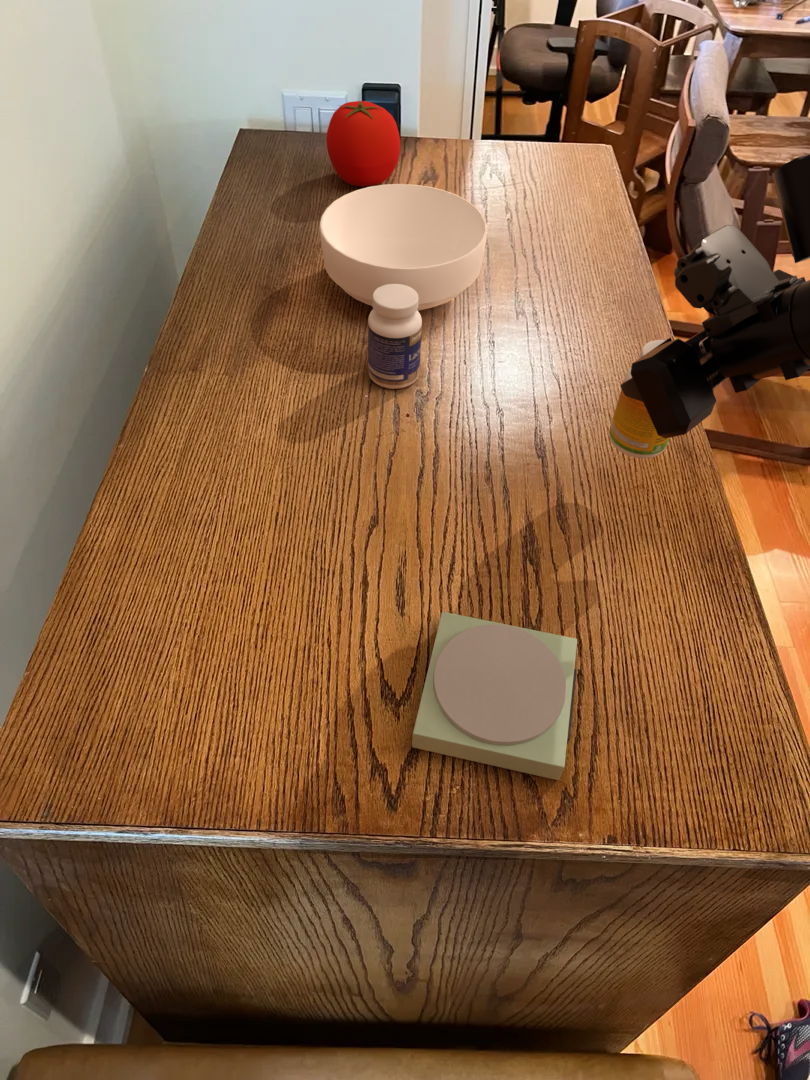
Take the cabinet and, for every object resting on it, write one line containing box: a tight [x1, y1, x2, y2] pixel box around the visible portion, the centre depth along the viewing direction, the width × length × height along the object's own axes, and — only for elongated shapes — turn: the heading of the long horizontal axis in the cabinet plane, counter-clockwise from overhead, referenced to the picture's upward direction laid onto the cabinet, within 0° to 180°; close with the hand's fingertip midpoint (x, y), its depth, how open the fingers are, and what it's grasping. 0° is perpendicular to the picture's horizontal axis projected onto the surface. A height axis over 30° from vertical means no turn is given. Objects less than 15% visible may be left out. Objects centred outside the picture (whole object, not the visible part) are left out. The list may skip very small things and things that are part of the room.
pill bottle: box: [367, 284, 423, 390], centre depth 82 cm, size 6×6×10 cm
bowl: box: [319, 183, 488, 312], centre depth 93 cm, size 20×20×8 cm
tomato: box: [325, 100, 401, 187], centre depth 110 cm, size 10×11×11 cm
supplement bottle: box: [608, 339, 671, 459], centre depth 67 cm, size 5×5×10 cm
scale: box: [411, 611, 578, 781], centre depth 59 cm, size 11×11×3 cm
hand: (643, 375), depth 67 cm, fingers closed on supplement bottle, 5 cm apart
